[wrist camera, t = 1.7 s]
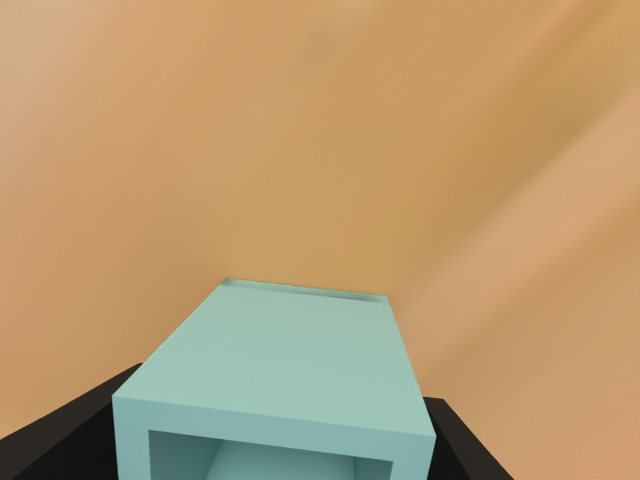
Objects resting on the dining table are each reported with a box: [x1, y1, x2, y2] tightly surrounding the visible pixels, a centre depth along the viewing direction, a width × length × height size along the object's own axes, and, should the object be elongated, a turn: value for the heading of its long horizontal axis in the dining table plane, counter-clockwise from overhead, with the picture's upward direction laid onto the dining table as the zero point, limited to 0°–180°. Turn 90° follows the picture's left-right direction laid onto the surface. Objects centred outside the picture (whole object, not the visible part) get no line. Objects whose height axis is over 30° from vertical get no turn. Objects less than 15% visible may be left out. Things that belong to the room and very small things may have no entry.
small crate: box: [112, 278, 436, 480], centre depth 9 cm, size 5×5×6 cm
